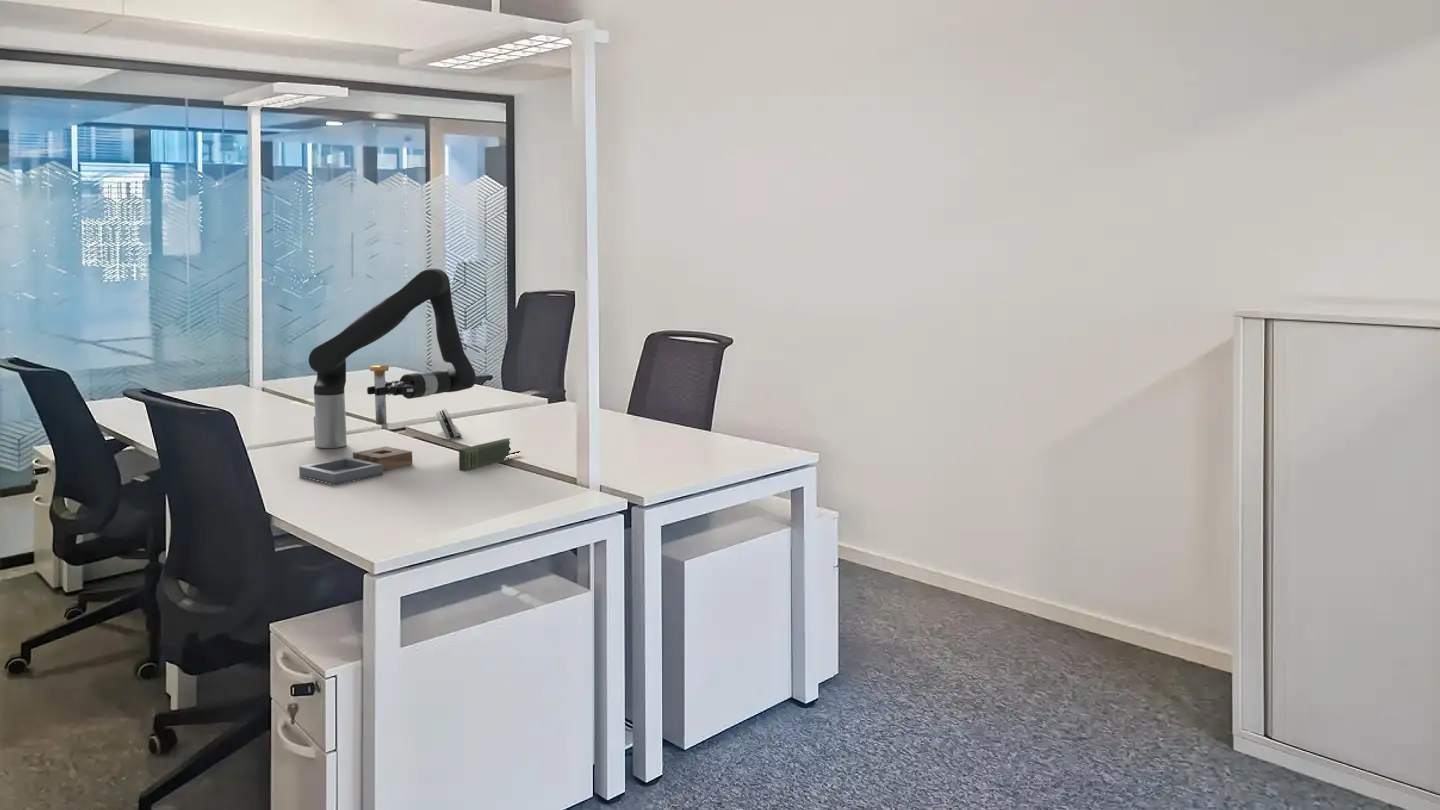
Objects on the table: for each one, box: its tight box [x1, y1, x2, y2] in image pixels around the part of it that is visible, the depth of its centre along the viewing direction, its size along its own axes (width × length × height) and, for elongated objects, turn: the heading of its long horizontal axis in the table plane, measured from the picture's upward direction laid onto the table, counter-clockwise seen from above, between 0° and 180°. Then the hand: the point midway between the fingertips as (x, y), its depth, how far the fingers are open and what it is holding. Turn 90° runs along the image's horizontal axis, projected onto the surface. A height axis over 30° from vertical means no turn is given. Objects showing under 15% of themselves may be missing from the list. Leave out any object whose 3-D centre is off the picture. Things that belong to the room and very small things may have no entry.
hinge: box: [435, 408, 463, 439], centre depth 367 cm, size 17×5×10 cm, turn 20°
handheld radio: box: [458, 438, 521, 472], centre depth 324 cm, size 7×3×25 cm
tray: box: [298, 456, 384, 485], centre depth 305 cm, size 16×16×3 cm
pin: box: [369, 364, 389, 425], centre depth 316 cm, size 5×5×17 cm
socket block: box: [352, 446, 413, 472], centre depth 319 cm, size 12×12×4 cm
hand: (372, 391), depth 314 cm, fingers closed on pin, 3 cm apart
